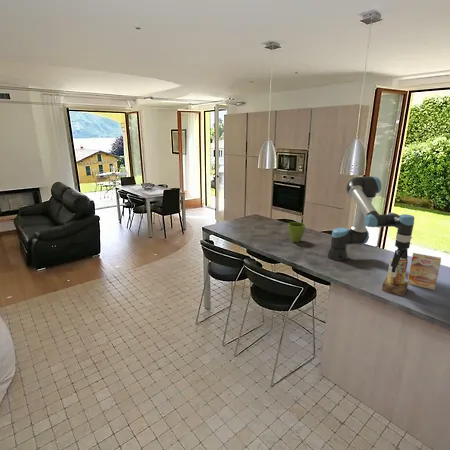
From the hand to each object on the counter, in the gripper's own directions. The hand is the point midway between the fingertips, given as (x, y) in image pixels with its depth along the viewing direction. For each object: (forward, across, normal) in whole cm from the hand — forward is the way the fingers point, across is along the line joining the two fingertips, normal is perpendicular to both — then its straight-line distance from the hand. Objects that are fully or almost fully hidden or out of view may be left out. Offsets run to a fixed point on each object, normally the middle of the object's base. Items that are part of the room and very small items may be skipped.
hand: (397, 273), depth 186 cm
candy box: (+6, 0, 0) cm, 6 cm away
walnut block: (+11, 0, 0) cm, 11 cm away
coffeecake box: (+11, +19, -9) cm, 24 cm away
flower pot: (+11, +30, +95) cm, 100 cm away
